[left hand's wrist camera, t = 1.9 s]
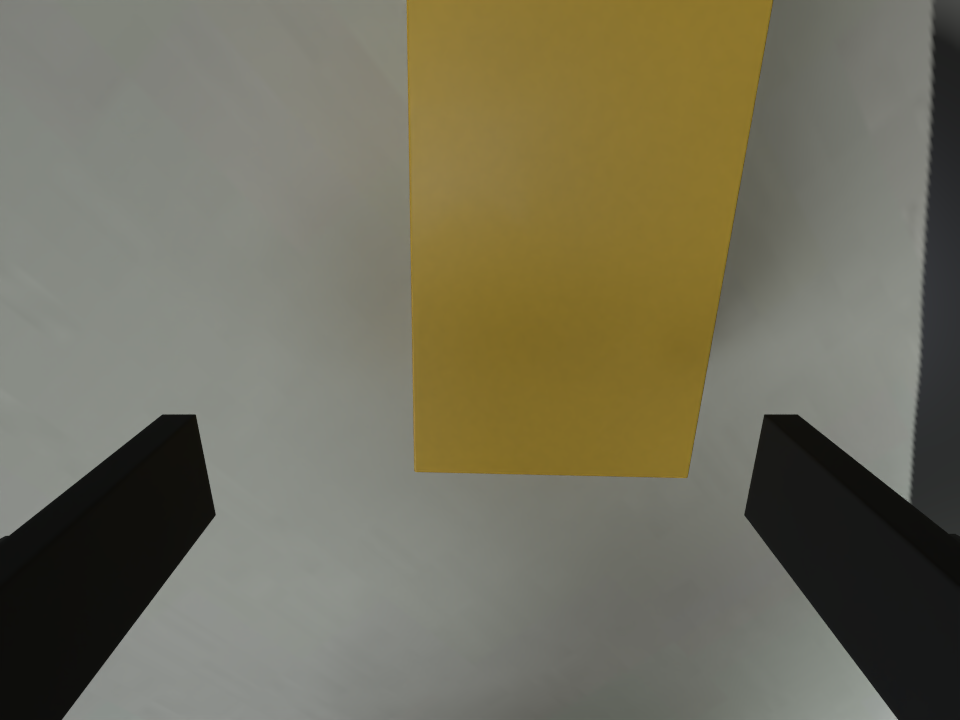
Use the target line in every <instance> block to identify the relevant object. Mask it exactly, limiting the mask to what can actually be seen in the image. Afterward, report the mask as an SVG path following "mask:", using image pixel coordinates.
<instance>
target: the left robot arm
mask: <svg viewBox="0 0 960 720" xmlns="http://www.w3.org/2000/svg"><path fill="white" fill-rule="evenodd" d="M215 515H216V514H215V509H214V504H213V499H212V494H211V489H210V484H209V479H208V474H207V469H206V464H205V459H204V454H203V449H202V444H201V439H200V434H199V429H198V424H197V419H196V415H161V416H160V417H159V418H157V419H156V420H155V421H154V422H152V423H151V424H150V425H149V426H147V427H146V428H145V429H144V430H142V431H141V432H140V433H139V434H137V435H136V436H135V437H133V438H132V439H131V440H130V441H128V442H127V443H126V444H125V445H123V446H122V447H121V448H120V449H118V450H117V451H116V452H114V453H113V454H112V455H111V456H109V457H108V458H107V459H106V460H104V461H103V462H102V463H101V464H99V465H98V466H97V467H96V468H94V469H93V470H92V471H90V472H89V473H88V474H87V475H85V476H84V477H83V478H82V479H80V480H79V481H78V482H77V483H75V484H74V485H73V486H71V487H70V488H69V489H68V490H66V491H65V492H64V493H63V494H61V495H60V496H59V497H58V498H56V499H55V500H54V501H52V502H51V503H50V504H49V505H47V506H46V507H45V508H44V509H42V510H41V511H40V512H39V513H37V514H36V515H35V516H34V517H32V518H31V519H30V520H28V521H27V522H26V523H25V524H23V525H22V526H21V527H20V528H18V529H17V530H16V531H15V532H13V533H12V534H11V535H9V536H5V537H3V538H1V539H0V720H62V719H63V717H64V716H65V715H66V713H67V712H68V711H69V709H70V708H71V707H72V705H73V704H74V703H75V701H76V700H77V699H78V697H79V696H80V695H81V693H82V692H83V691H84V690H85V688H86V687H87V686H88V684H89V683H90V682H91V680H92V679H93V678H94V676H95V675H96V674H97V672H98V671H99V670H100V668H101V667H102V666H103V664H104V663H105V662H106V660H107V659H108V658H109V656H110V655H111V654H112V652H113V651H114V650H115V648H116V647H117V646H118V644H119V643H120V642H121V640H122V639H123V638H124V636H125V635H126V634H127V632H128V631H129V630H130V628H131V627H132V626H133V624H134V623H135V622H136V620H137V619H138V618H139V616H140V615H141V614H142V612H143V611H144V610H145V608H146V607H147V606H148V604H149V603H150V602H151V600H152V599H153V598H154V596H155V595H156V594H157V592H158V591H159V590H160V588H161V587H162V586H163V584H164V583H165V582H166V580H167V579H168V578H169V576H170V575H171V574H172V572H173V571H174V570H175V569H176V567H177V566H178V565H179V563H180V562H181V561H182V559H183V558H184V557H185V555H186V554H187V553H188V551H189V550H190V549H191V547H192V546H193V545H194V543H195V542H196V541H197V539H198V538H199V537H200V535H201V534H202V533H203V531H204V530H205V529H206V527H207V526H208V525H209V523H210V522H211V521H212V519H213V518H214V517H215ZM744 515H745V517H746V518H747V519H748V521H749V522H750V523H751V525H752V526H753V527H754V529H755V530H756V531H757V533H758V534H759V535H760V537H761V538H762V539H763V541H764V542H765V543H766V545H767V546H768V547H769V549H770V550H771V551H772V553H773V554H774V555H775V557H776V558H777V559H778V561H779V562H780V563H781V565H782V566H783V567H784V569H785V570H786V571H787V572H788V574H789V575H790V576H791V578H792V579H793V580H794V582H795V583H796V584H797V586H798V587H799V588H800V590H801V591H802V592H803V594H804V595H805V596H806V598H807V599H808V600H809V602H810V603H811V604H812V606H813V607H814V608H815V610H816V611H817V612H818V614H819V615H820V616H821V618H822V619H823V620H824V622H825V623H826V624H827V626H828V627H829V628H830V630H831V631H832V632H833V634H834V635H835V636H836V638H837V639H838V640H839V642H840V643H841V644H842V646H843V647H844V648H845V650H846V651H847V652H848V654H849V655H850V656H851V658H852V659H853V660H854V662H855V663H856V664H857V666H858V667H859V668H860V670H861V671H862V672H863V674H864V675H865V676H866V678H867V679H868V680H869V682H870V683H871V684H872V686H873V687H874V688H875V690H876V691H877V692H878V693H879V695H880V696H881V697H882V699H883V700H884V701H885V703H886V704H887V705H888V707H889V708H890V709H891V711H892V712H893V713H894V715H895V716H896V717H897V719H898V720H960V536H958V535H956V534H948V533H947V532H945V531H944V530H943V529H942V528H940V527H939V526H938V525H937V524H935V523H934V522H933V521H932V520H930V519H929V518H928V517H926V516H925V515H924V514H923V513H921V512H920V511H919V510H918V509H916V508H915V507H914V506H913V505H911V504H910V503H909V502H908V501H906V500H905V499H904V498H902V497H901V496H900V495H899V494H897V493H896V492H895V491H894V490H892V489H891V488H890V487H889V486H887V485H886V484H885V483H883V482H882V481H881V480H880V479H878V478H877V477H876V476H875V475H873V474H872V473H871V472H870V471H868V470H867V469H866V468H864V467H863V466H862V465H861V464H859V463H858V462H857V461H856V460H854V459H853V458H852V457H851V456H849V455H848V454H847V453H846V452H844V451H843V450H842V449H840V448H839V447H838V446H837V445H835V444H834V443H833V442H832V441H830V440H829V439H828V438H827V437H825V436H824V435H823V434H821V433H820V432H819V431H818V430H816V429H815V428H814V427H813V426H811V425H810V424H809V423H808V422H806V421H805V420H804V419H803V418H801V417H800V416H799V415H764V419H763V424H762V429H761V434H760V439H759V444H758V449H757V454H756V459H755V464H754V469H753V474H752V479H751V484H750V489H749V494H748V499H747V504H746V509H745V514H744Z"/></svg>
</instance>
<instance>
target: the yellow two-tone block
mask: <svg viewBox="0 0 960 720" xmlns="http://www.w3.org/2000/svg"><path fill="white" fill-rule="evenodd" d="M772 4H773V0H407V54H408V115H409V177H410V238H411V300H412V361H413V423H414V471H415V472H441V473H486V474H531V475H576V476H620V477H665V478H687V477H688V472H689V467H690V461H691V455H692V450H693V444H694V439H695V433H696V428H697V422H698V416H699V411H700V405H701V400H702V394H703V389H704V383H705V377H706V372H707V366H708V361H709V355H710V350H711V344H712V338H713V333H714V327H715V322H716V316H717V311H718V305H719V300H720V294H721V288H722V283H723V277H724V272H725V266H726V261H727V255H728V249H729V244H730V238H731V233H732V227H733V222H734V216H735V210H736V205H737V199H738V194H739V188H740V183H741V177H742V171H743V166H744V160H745V155H746V149H747V144H748V138H749V132H750V127H751V121H752V116H753V110H754V105H755V99H756V93H757V88H758V82H759V77H760V71H761V66H762V60H763V54H764V49H765V43H766V38H767V32H768V27H769V21H770V15H771V10H772Z"/></svg>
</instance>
